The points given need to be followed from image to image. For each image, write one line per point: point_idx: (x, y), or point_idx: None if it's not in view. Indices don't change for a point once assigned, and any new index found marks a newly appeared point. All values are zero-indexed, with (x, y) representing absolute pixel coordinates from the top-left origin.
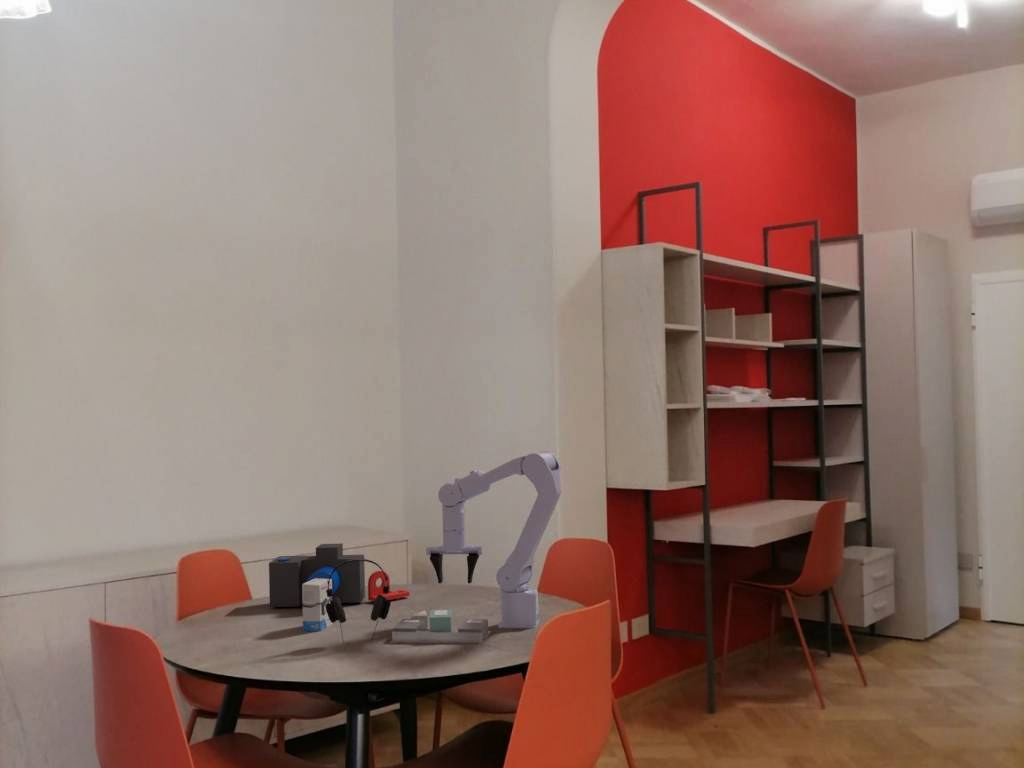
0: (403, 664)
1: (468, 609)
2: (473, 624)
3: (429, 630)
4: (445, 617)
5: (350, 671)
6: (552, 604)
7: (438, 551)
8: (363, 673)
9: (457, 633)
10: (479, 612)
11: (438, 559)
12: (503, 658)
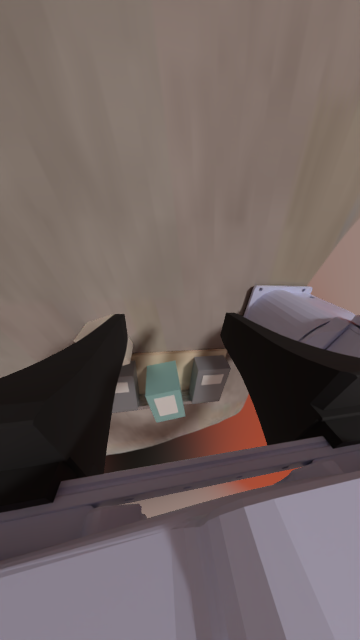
0: (149, 429)
1: (179, 112)
2: (210, 388)
3: (139, 356)
4: (178, 417)
5: (112, 444)
6: None
7: (41, 536)
8: (125, 444)
9: (190, 402)
10: (214, 177)
11: (103, 466)
12: (229, 408)
